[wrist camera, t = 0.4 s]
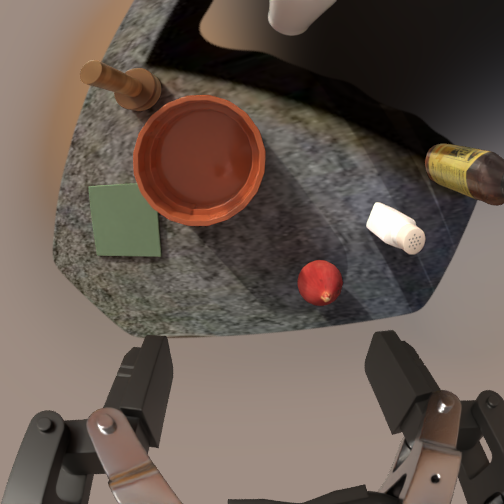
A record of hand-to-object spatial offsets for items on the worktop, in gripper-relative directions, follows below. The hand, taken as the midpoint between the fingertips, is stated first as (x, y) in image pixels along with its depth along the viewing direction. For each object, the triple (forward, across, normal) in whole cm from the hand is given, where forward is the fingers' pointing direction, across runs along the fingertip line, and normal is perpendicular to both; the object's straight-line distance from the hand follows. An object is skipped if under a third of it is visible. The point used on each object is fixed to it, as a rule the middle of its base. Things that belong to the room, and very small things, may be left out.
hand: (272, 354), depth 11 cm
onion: (+28, -9, +10) cm, 31 cm away
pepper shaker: (+28, -18, +2) cm, 34 cm away
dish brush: (+28, +14, -14) cm, 34 cm away
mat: (+28, +17, +3) cm, 33 cm away
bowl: (+28, +6, -5) cm, 29 cm away
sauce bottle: (+28, -27, -6) cm, 40 cm away
